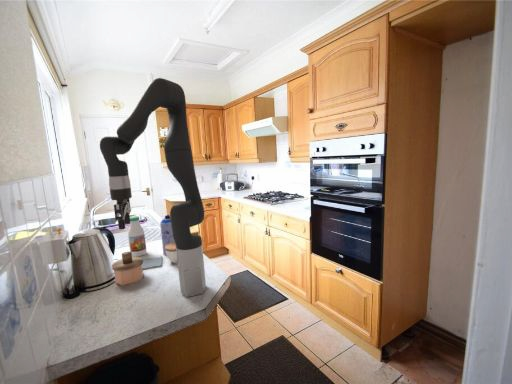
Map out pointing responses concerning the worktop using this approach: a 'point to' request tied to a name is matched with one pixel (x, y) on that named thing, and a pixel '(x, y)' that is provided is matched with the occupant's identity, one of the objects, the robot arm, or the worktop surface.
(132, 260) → the lid
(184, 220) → the robot arm
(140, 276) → the bowl
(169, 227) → the aerosol can
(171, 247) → the lidded jar
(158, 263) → the mat
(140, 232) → the milk bottle
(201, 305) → the worktop surface
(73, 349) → the worktop surface
